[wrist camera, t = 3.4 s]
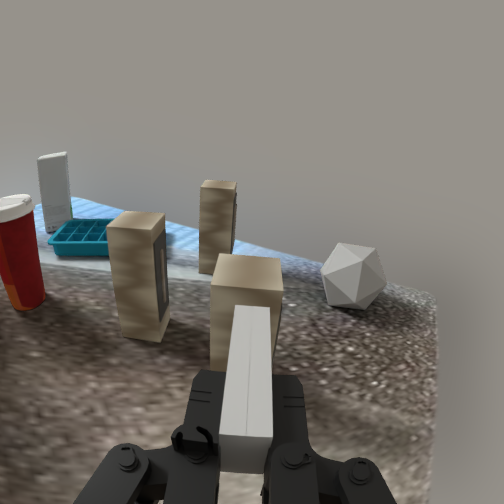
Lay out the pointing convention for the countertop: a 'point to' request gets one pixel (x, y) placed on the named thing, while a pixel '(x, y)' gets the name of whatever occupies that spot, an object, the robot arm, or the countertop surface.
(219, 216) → the post
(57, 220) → the skincare box
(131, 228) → the post
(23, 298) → the paper cup
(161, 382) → the countertop surface
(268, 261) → the post
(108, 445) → the countertop surface
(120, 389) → the countertop surface
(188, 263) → the countertop surface
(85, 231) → the ice cube tray
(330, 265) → the die
